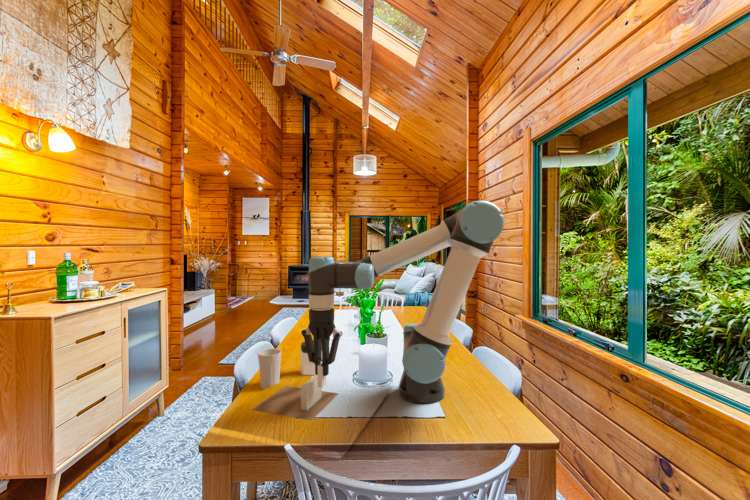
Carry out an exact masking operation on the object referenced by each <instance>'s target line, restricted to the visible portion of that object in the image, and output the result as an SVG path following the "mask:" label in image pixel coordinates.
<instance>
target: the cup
mask: <svg viewBox="0 0 750 500" xmlns="http://www.w3.org/2000/svg"><path fill="white" fill-rule="evenodd" d="M257 358H258V359H257V360H258V365H259V377H260V378H259V379H260V388H261V389H262V390H267V389H268V388H270V387H271V386H272V387H273V386H276V385H278V384H279V383H280V379H281V377H280V376H281V375H280V374H281V361H282V350H281V349H279V348H265V349H261V350H259V351H258V352H257Z"/></svg>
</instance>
